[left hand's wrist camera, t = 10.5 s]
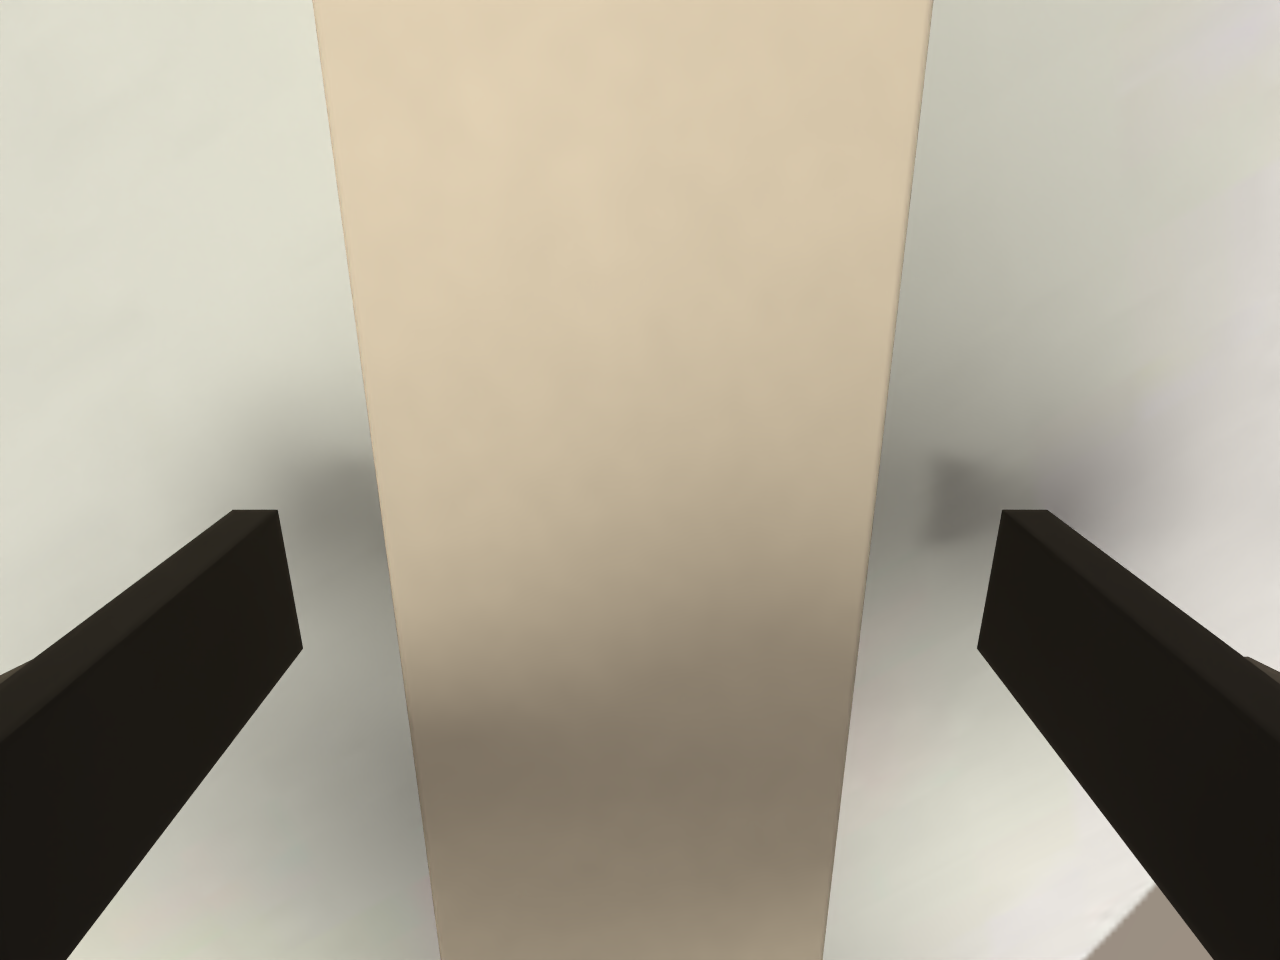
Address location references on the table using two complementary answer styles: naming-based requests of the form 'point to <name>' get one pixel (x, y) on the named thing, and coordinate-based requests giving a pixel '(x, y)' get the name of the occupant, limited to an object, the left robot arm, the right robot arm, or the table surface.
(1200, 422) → the table surface
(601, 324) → the bar
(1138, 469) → the table surface
